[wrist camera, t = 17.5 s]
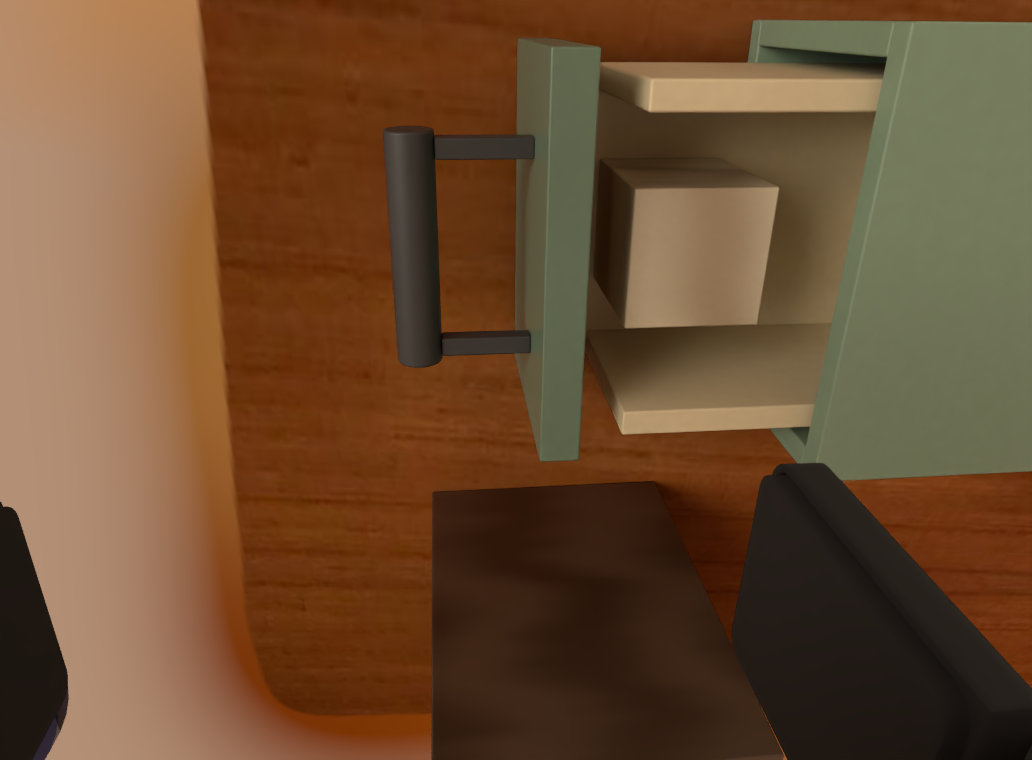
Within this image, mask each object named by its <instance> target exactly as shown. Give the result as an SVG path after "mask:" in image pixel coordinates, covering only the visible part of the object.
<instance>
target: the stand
mask: <svg viewBox="0 0 1032 760" xmlns="http://www.w3.org/2000/svg"><path fill="white" fill-rule="evenodd" d="M783 757H784V755H783V752H782V750H781V748H780V746H779V744H778V742H777V740H776V738H775V736H774V733H773V731H772V729H771V727H770V725H769V723H768V721H767V719H766V717H765V714H764V713H763V710H762V708H761V706H760V704H759V702H758V700H757V698H756V695H755V693H754V691H753V689H752V687H751V685H750V683H749V681H748V679H747V677H746V675H745V673H744V671H743V669H742V667H741V665H740V663H739V661H738V659H737V656H736V654H735V651H734V649H733V647H732V645H731V643H730V641H729V638H728V636H727V634H726V632H725V630H724V628H723V626H722V624H721V622H720V619H719V617H718V615H717V613H716V611H715V609H714V607H713V605H712V603H711V600H710V598H709V596H708V594H707V592H706V590H705V588H704V586H703V584H702V581H701V579H700V577H699V575H698V573H697V571H696V569H695V567H694V565H693V562H692V560H691V558H690V556H689V554H688V552H687V550H686V548H685V546H684V543H683V541H682V539H681V537H680V535H679V533H678V531H677V529H676V527H675V524H674V522H673V520H672V518H671V516H670V514H669V512H668V510H667V508H666V505H665V503H664V501H663V499H662V497H661V495H660V493H659V491H658V489H657V486H656V484H655V482H633V483H612V484H592V485H571V486H551V487H530V488H510V489H489V490H469V491H448V492H433V494H432V760H783Z"/></svg>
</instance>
